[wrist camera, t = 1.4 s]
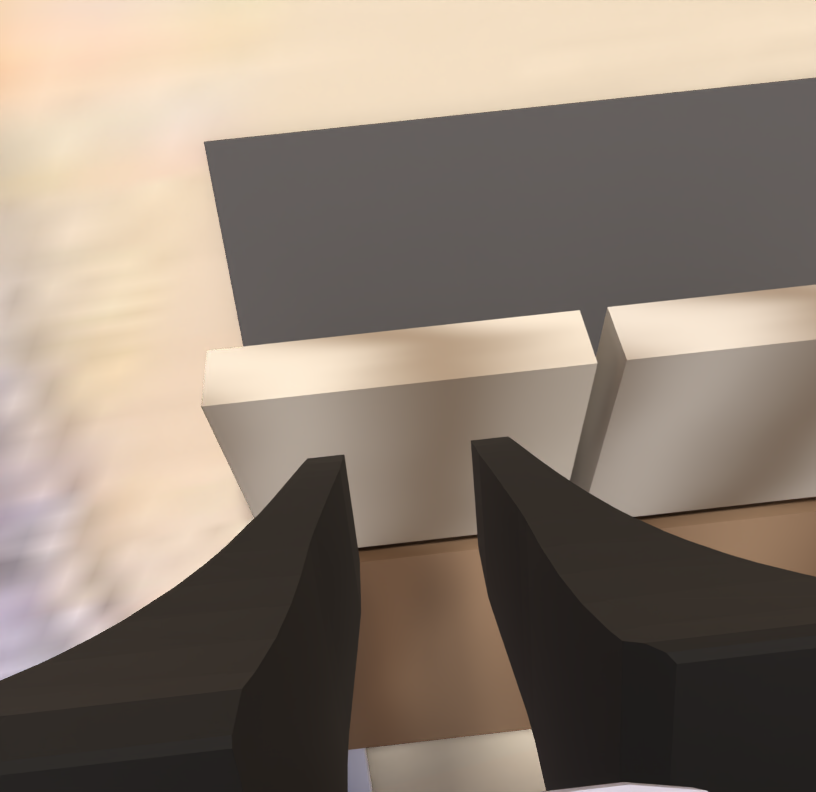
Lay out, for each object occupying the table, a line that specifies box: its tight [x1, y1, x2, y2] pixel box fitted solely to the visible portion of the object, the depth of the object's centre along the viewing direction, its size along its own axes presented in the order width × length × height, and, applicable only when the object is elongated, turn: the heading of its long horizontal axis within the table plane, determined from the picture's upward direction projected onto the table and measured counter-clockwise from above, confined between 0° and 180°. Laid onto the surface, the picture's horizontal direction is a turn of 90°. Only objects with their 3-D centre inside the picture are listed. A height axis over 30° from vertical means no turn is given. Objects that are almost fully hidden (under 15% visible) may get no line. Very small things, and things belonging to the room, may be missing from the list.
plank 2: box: [570, 285, 816, 517], centre depth 18 cm, size 8×7×2 cm
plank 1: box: [201, 310, 598, 548], centre depth 18 cm, size 8×7×2 cm
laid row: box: [348, 497, 816, 750], centre depth 22 cm, size 17×7×2 cm, turn 96°
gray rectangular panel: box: [204, 78, 816, 357], centre depth 19 cm, size 17×11×1 cm, turn 96°
